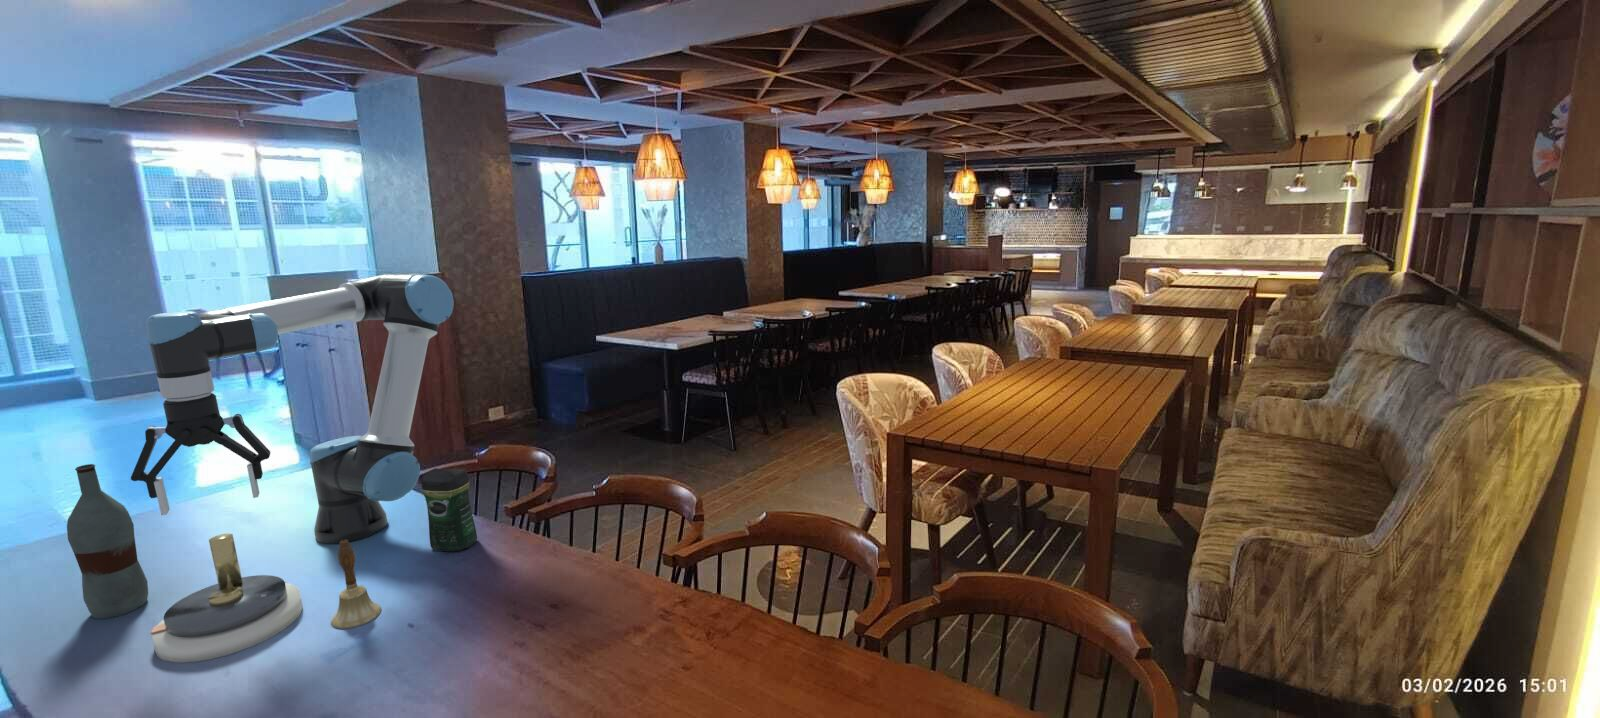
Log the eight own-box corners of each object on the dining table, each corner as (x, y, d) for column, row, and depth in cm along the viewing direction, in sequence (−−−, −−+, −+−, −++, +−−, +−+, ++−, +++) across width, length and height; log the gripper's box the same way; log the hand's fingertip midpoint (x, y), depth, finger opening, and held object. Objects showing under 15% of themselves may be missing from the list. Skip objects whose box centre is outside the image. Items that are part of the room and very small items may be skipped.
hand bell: (391, 608, 140) (379, 533, 136) (353, 632, 132) (339, 553, 129) (360, 602, 142) (347, 528, 139) (320, 625, 135) (306, 547, 131)
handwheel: (284, 615, 132) (272, 556, 129) (156, 649, 122) (140, 586, 120) (289, 575, 146) (278, 521, 144) (175, 602, 137) (162, 545, 134)
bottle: (96, 625, 136) (58, 478, 130) (81, 612, 141) (43, 470, 135) (158, 602, 144) (125, 462, 138) (142, 590, 149) (109, 455, 143)
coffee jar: (483, 538, 169) (473, 464, 165) (462, 554, 161) (451, 477, 157) (447, 536, 170) (436, 462, 167) (424, 551, 163) (413, 475, 159)
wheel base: (304, 584, 150) (301, 568, 149) (300, 634, 132) (296, 617, 131) (168, 618, 138) (164, 601, 138) (142, 678, 120) (138, 660, 119)
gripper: (273, 382, 141) (292, 482, 145) (103, 403, 128) (129, 513, 132) (270, 389, 134) (290, 494, 139) (91, 412, 122) (119, 527, 126)
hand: (212, 503), depth 136 cm, fingers open, 13 cm apart
